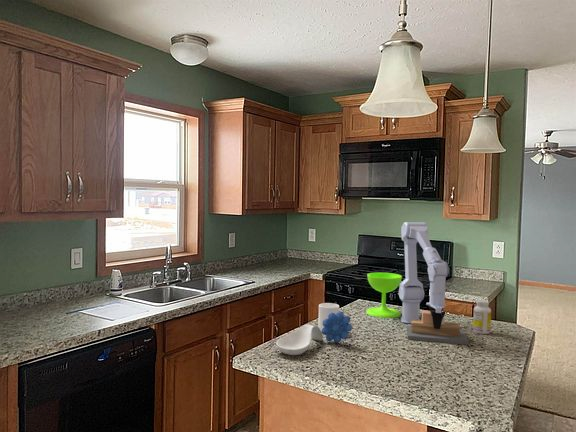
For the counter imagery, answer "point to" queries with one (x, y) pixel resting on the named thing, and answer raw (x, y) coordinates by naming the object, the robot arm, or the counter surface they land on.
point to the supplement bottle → (482, 317)
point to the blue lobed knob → (336, 327)
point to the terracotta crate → (427, 317)
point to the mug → (326, 312)
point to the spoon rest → (299, 340)
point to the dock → (437, 337)
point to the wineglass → (384, 293)
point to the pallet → (445, 329)
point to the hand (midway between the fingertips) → (436, 326)
